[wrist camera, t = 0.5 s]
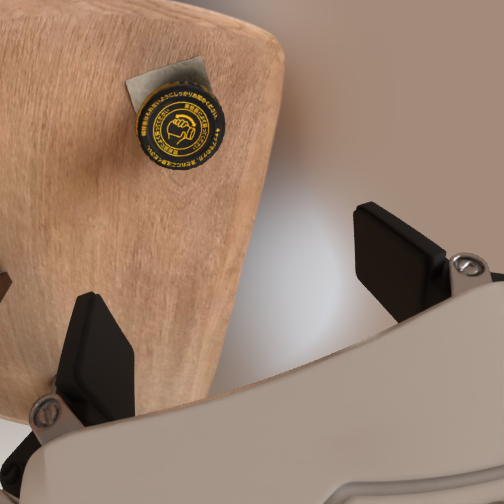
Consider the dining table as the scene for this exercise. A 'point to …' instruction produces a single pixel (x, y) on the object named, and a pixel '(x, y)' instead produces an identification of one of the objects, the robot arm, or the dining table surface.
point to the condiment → (177, 115)
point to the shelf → (4, 284)
